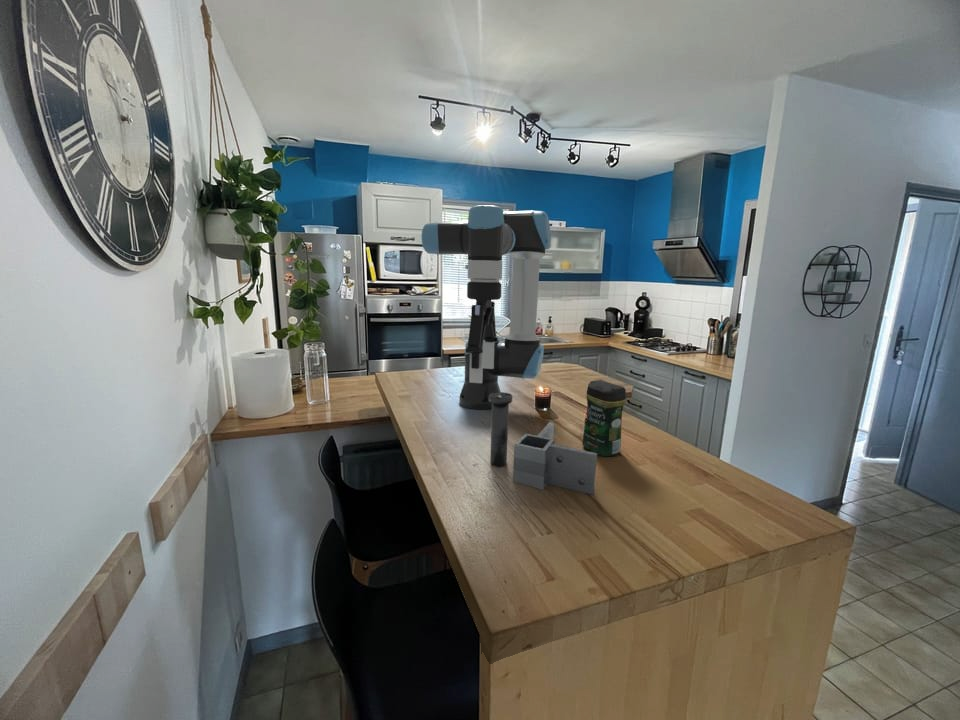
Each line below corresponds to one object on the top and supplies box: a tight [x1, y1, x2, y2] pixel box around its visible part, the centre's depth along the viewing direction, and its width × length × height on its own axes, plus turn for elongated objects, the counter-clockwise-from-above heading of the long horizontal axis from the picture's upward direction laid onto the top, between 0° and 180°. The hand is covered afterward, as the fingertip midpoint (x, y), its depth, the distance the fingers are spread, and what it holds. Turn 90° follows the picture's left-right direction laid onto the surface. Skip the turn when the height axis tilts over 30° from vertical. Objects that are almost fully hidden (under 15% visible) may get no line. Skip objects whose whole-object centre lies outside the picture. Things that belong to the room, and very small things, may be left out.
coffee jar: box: [581, 379, 627, 457], centre depth 108 cm, size 10×8×19 cm
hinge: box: [512, 421, 598, 496], centre depth 95 cm, size 17×17×9 cm
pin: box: [489, 391, 513, 468], centre depth 99 cm, size 6×6×17 cm
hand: (482, 375), depth 95 cm, fingers open, 13 cm apart
